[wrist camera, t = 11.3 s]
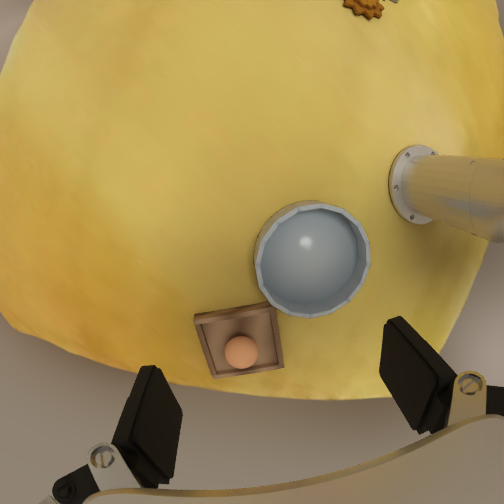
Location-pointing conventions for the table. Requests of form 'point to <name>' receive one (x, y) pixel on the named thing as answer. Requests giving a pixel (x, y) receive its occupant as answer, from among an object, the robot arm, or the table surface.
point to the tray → (240, 324)
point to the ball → (241, 352)
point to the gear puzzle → (366, 7)
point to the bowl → (311, 258)
